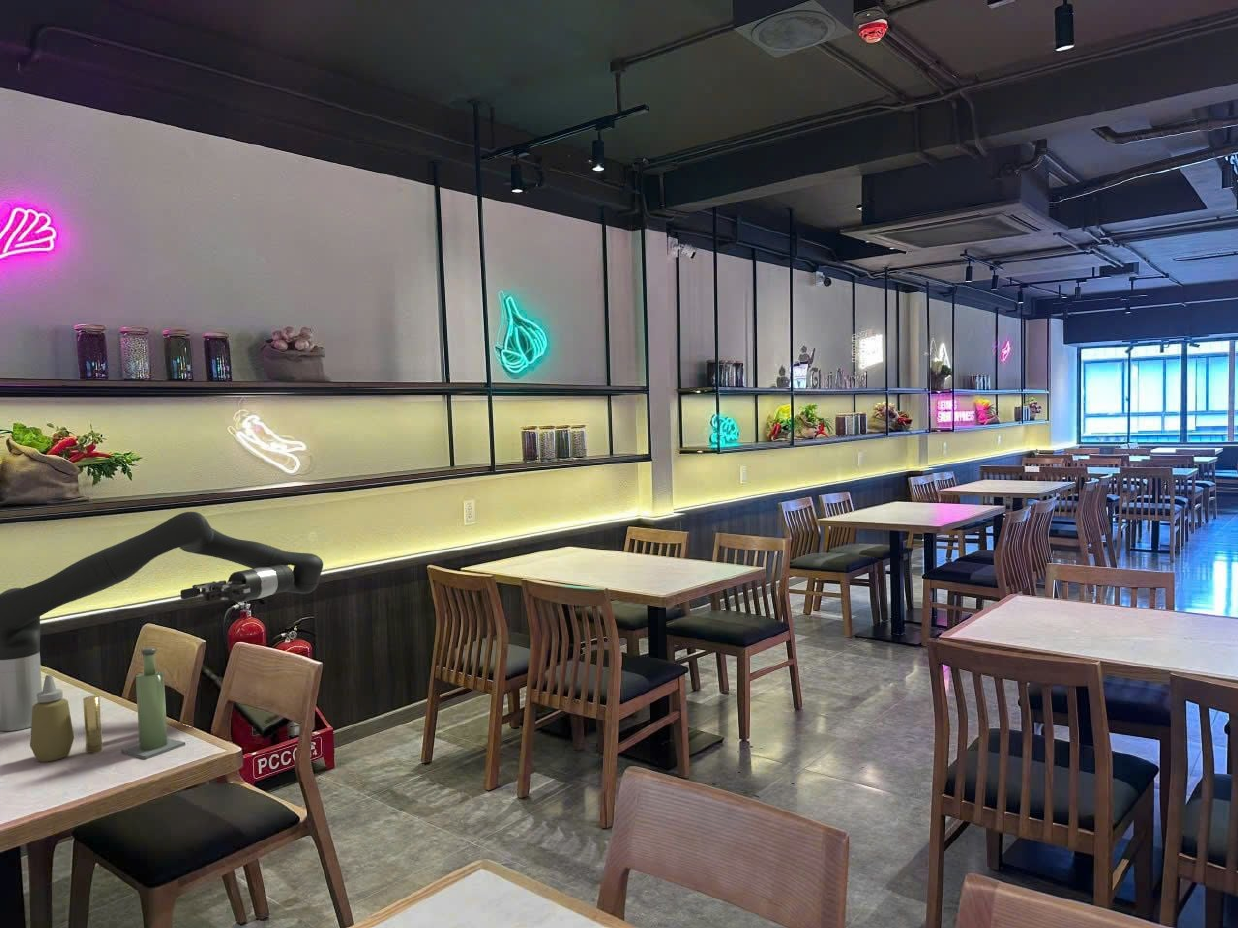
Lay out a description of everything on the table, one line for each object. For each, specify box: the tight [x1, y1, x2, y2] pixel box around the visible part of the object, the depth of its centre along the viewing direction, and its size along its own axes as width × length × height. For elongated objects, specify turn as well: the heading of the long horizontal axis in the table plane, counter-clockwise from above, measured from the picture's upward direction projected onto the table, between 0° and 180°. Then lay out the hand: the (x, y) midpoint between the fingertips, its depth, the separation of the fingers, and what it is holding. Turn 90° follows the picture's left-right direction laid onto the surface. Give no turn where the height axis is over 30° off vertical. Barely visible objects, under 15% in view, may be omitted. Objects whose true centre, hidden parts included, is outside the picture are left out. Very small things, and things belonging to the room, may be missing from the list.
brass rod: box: [82, 694, 103, 755], centre depth 185 cm, size 3×3×12 cm
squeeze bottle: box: [29, 674, 75, 763], centre depth 182 cm, size 8×8×18 cm
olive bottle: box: [135, 647, 168, 750], centre depth 185 cm, size 5×5×22 cm
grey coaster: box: [120, 737, 186, 760], centre depth 185 cm, size 9×9×1 cm
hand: (192, 595), depth 194 cm, fingers open, 8 cm apart
